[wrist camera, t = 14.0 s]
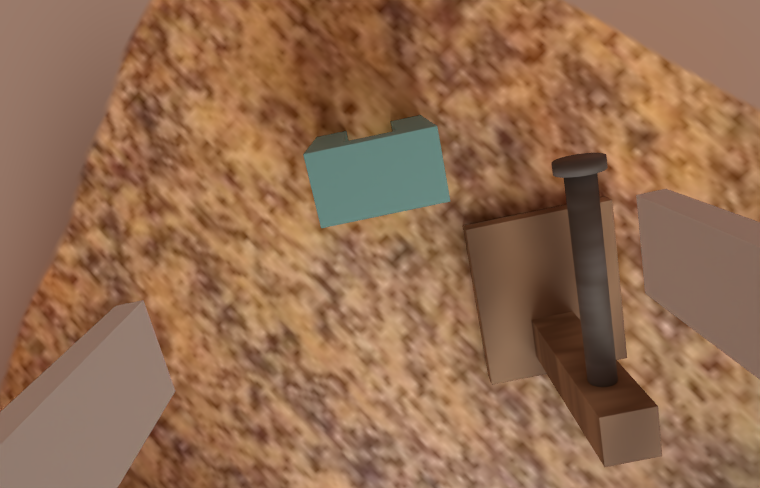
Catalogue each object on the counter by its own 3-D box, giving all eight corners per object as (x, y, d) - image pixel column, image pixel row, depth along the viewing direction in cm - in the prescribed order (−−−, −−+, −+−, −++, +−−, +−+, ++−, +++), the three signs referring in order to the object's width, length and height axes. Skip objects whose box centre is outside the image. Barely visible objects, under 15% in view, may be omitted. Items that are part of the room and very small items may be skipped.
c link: (330, 195, 39) (321, 228, 31) (316, 137, 38) (303, 154, 30) (431, 174, 39) (450, 201, 31) (420, 115, 38) (437, 126, 29)
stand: (488, 376, 44) (542, 503, 31) (450, 153, 39) (494, 192, 26) (620, 350, 43) (730, 467, 30) (597, 122, 39) (716, 145, 26)
